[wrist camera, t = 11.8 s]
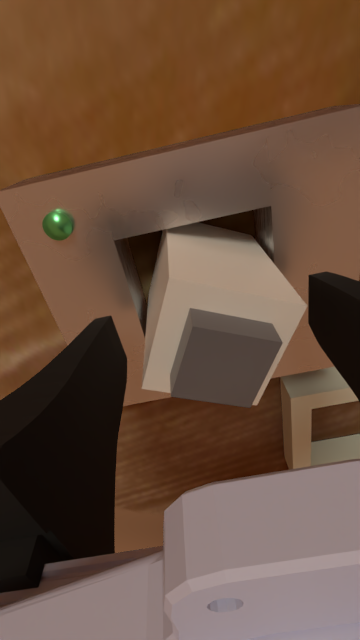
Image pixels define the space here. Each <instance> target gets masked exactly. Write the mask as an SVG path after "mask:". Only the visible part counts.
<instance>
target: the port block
mask: <svg viewBox="0 0 360 640" xmlns="http://www.w3.org/2000/svg"><path fill="white" fill-rule="evenodd" d="M0 207H1V209H2V211H3V213H4V216H5V218H6V220H7V222H8V224H9V226H10V228H11V230H12V232H13V234H14V236H15V238H16V240H17V242H18V244H19V247H20V249H21V251H22V253H23V255H24V257H25V259H26V261H27V263H28V265H29V267H30V269H31V271H32V273H33V275H34V277H35V280H36V282H37V284H38V286H39V288H40V290H41V292H42V294H43V296H44V298H45V300H46V302H47V304H48V306H49V308H50V310H51V313H52V315H53V317H54V319H55V321H56V323H57V325H58V327H59V329H60V331H61V333H62V335H63V337H64V339H65V341H66V343H67V346H68V345H69V344H70V343H71V342H72V341H73V340H74V339H75V338H76V337H77V336H78V335H79V334H80V333H81V332H82V331H83V330H84V329H85V328H86V327H87V326H88V325H89V324H90V323H91V322H92V321H93V320H94V319H96V318H101V317H106V316H112V319H113V322H114V324H115V327H116V330H117V332H118V335H119V338H120V340H121V343H122V346H123V348H124V351H125V354H126V356H127V384H126V390H125V397H124V403H123V406H127V405H132V404H137V403H143V402H148V401H153V400H159V399H164V398H169V397H171V393H167V392H160V391H153V390H146V389H142V377H143V363H144V349H145V336H146V322H147V308H148V307H147V303H146V300H145V296H144V293H143V290H142V286H141V283H140V280H139V276H138V273H137V270H136V266H135V263H134V260H133V256H132V253H131V249H130V246H129V243H128V239H127V238H128V237H132V236H137V235H141V234H146V233H150V232H155V231H159V230H164V229H168V228H173V227H178V226H182V225H187V224H191V223H196V222H200V221H205V220H209V219H214V218H218V217H223V216H227V215H232V214H236V213H241V212H245V211H250V210H253V211H254V223H255V235H256V242H257V243H258V244H259V245H260V247H261V248H262V249H263V250H264V252H265V253H266V254H267V255H268V257H269V258H270V259H271V260H272V262H273V263H274V264H275V266H276V267H277V268H278V269H279V271H280V272H281V273H282V274H283V276H284V277H285V278H286V279H287V281H288V282H289V283H290V284H291V286H292V287H293V288H294V289H295V291H296V292H297V293H298V295H299V296H300V297H301V298H302V300H303V301H304V302H305V303H306V305H307V308H306V310H305V312H304V314H303V316H302V318H301V320H300V322H299V324H298V326H297V328H296V330H295V332H294V334H293V335H292V337H291V339H290V341H289V343H288V345H287V347H286V349H285V351H284V353H283V355H282V357H281V359H280V361H279V363H278V365H277V367H276V369H275V371H274V373H273V375H272V377H271V378H276V377H282V376H287V375H292V374H298V373H303V372H308V371H314V370H319V369H324V368H330V367H335V366H334V365H333V364H332V362H331V361H330V359H329V358H328V357H327V355H326V354H325V352H324V351H323V350H322V348H321V347H320V345H319V344H318V342H317V340H316V338H315V336H314V334H313V332H312V330H311V328H310V326H309V324H308V279H309V275H311V274H316V273H321V272H331V273H335V274H338V275H342V276H345V277H348V278H351V279H354V280H357V281H359V274H360V104H354V105H343V106H333V107H329V108H324V109H320V110H316V111H312V112H307V113H303V114H299V115H295V116H291V117H286V118H282V119H278V120H274V121H270V122H265V123H261V124H257V125H253V126H248V127H244V128H240V129H236V130H232V131H227V132H223V133H219V134H215V135H211V136H206V137H202V138H198V139H194V140H189V141H185V142H181V143H177V144H173V145H168V146H164V147H160V148H156V149H152V150H147V151H143V152H139V153H135V154H130V155H126V156H122V157H118V158H114V159H109V160H105V161H101V162H97V163H93V164H88V165H84V166H80V167H76V168H71V169H67V170H63V171H59V172H55V173H50V174H46V175H42V176H38V177H34V178H29V179H25V180H23V181H20V182H18V183H16V184H13V185H11V186H8V187H6V188H4V189H1V190H0Z"/></svg>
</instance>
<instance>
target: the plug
mask: <svg viewBox="0 0 360 640" xmlns="http://www.w3.org/2000/svg"><path fill="white" fill-rule="evenodd" d="M306 308H307V305H306V303H305V302H304V301H303V300H302V298H301V297H300V296H299V295H298V293H297V292H296V291H295V289H294V288H293V287H292V286H291V284H290V283H289V282H288V281H287V279H286V278H285V277H284V276H283V274H282V273H281V272H280V271H279V269H278V268H277V267H276V266H275V264H274V263H273V262H272V260H271V259H270V258H269V257H268V255H267V254H266V253H265V252H264V250H263V249H262V248H261V247H260V245H259V244H258V243H257V242H256V240H255V239H254V238H253V236H252V235H249V234H245V233H240V232H236V231H232V230H228V229H224V228H220V227H215V226H211V225H207V224H203V223H199V222H196V223H191V224H187V225H182V226H178V227H173V228H168V229H164V230H162V235H161V240H160V244H159V249H158V253H157V258H156V263H155V267H154V272H153V276H152V281H151V285H150V290H149V295H148V308H147V322H146V336H145V349H144V363H143V377H142V389H146V390H153V391H160V392H167V393H171V397H177V398H184V399H191V400H198V401H205V402H212V403H219V404H226V405H233V406H240V407H247V408H251V406H252V405H257V404H258V402H259V400H260V398H261V396H262V394H263V392H264V390H265V389H266V387H267V385H268V383H269V381H270V379H271V377H272V375H273V373H274V371H275V369H276V367H277V365H278V363H279V361H280V359H281V357H282V355H283V353H284V351H285V349H286V347H287V345H288V343H289V341H290V339H291V337H292V335H293V334H294V332H295V330H296V328H297V326H298V324H299V322H300V320H301V318H302V316H303V314H304V312H305V310H306Z"/></svg>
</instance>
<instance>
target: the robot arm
mask: <svg viewBox="0 0 360 640" xmlns="http://www.w3.org/2000/svg"><path fill="white" fill-rule="evenodd" d="M308 324H309V326H310V328H311V330H312V332H313V334H314V336H315V338H316V340H317V342H318V344H319V345H320V347H321V348H322V350H323V351H324V352H325V354H326V355H327V357H328V358H329V359H330V361H331V362H332V364H333V365H334V366H335V368H336V369H337V370H338V372H339V373H340V374H341V376H342V377H343V379H344V380H345V381H346V383H347V384H348V385H349V387H350V388H351V390H352V391H353V392H354V394H355V395H356V397H357V399H358V400H359V402H360V281H357V280H354V279H351V278H348V277H345V276H342V275H338V274H335V273H331V272H321V273H316V274H311V275H309V279H308ZM126 384H127V356H126V354H125V351H124V348H123V346H122V343H121V340H120V338H119V335H118V332H117V330H116V327H115V324H114V322H113V319H112V316H106V317H101V318H96V319H94V320H93V321H92V322H91V323H90V324H89V325H88V326H87V327H86V328H85V329H84V330H83V331H82V332H81V333H80V334H79V335H78V336H77V337H76V338H75V339H74V340H73V341H72V342H71V343H70V344H69V345H68V346H67V347H66V348H65V349H64V350H63V351H62V352H61V353H60V354H59V355H57V356H56V357H55V358H54V359H53V360H52V361H51V362H50V363H49V364H48V365H47V366H46V367H44V368H43V369H42V370H41V371H40V372H39V373H37V374H36V375H35V376H34V377H32V378H31V379H30V380H29V381H27V382H26V383H25V384H23V385H22V386H21V387H19V388H18V389H17V390H15V391H14V392H12V393H11V394H9V395H8V396H6V397H5V398H3V399H2V400H0V640H360V459H350V460H344V461H338V462H332V463H326V464H320V465H314V466H308V467H302V468H296V469H290V470H284V471H278V472H272V473H266V474H260V475H254V476H248V477H242V478H236V479H230V480H224V481H218V482H212V483H209V484H206V485H203V486H200V487H197V488H194V489H191V490H188V491H186V492H184V493H183V494H182V495H181V496H180V497H179V498H178V499H177V500H176V501H175V502H173V503H172V504H171V505H170V506H169V507H168V508H167V509H166V510H165V511H164V526H163V531H164V532H163V537H164V538H163V543H164V544H163V546H158V547H152V548H146V549H139V550H133V551H126V552H120V553H115V551H114V507H115V471H116V453H117V440H118V432H119V426H120V420H121V414H122V409H123V403H124V397H125V390H126Z"/></svg>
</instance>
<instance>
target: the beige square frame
mask: <svg viewBox="0 0 360 640" xmlns="http://www.w3.org/2000/svg"><path fill="white" fill-rule="evenodd" d="M280 386H281V404H282V423H283V441H284V457H285V460H286V463H287V465H288V468H289V470H290V469H296V468H302V467H308V466H314V465H320V464H326V463H332V462H338V461H344V460H350V459H360V434H356V435H350V436H345V437H339V438H333V439H327V440H321V441H316V442H311V416H312V409H314V408H320V407H326V406H331V405H337V404H342V403H348V402H353V401H359V400H358V399H357V397H356V395H355V394H354V392H353V391H352V390H351V388H350V387H349V385H348V384H347V383H346V381H345V380H344V379H343V377H342V376H341V374H340V373H339V372H338V370H337V369H336V368H335V367H330V368H324V369H319V370H314V371H308V372H303V373H298V374H292V375H287V376H282V377H280Z"/></svg>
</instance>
